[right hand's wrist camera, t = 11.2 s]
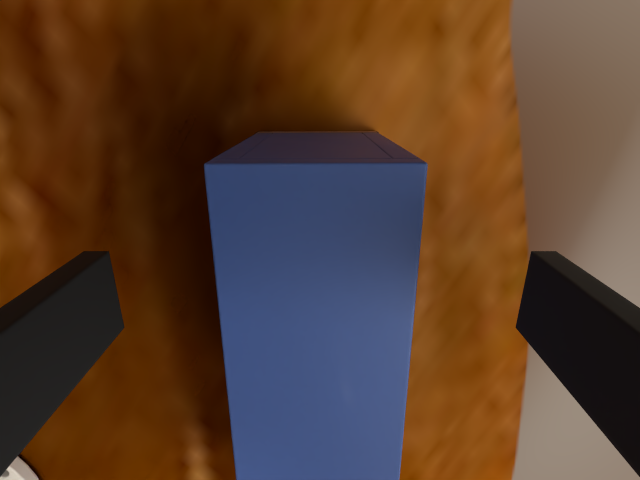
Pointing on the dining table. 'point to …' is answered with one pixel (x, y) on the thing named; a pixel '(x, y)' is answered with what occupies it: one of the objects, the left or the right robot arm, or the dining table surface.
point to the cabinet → (316, 299)
